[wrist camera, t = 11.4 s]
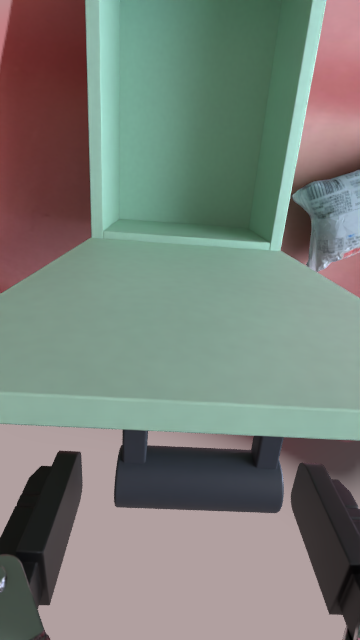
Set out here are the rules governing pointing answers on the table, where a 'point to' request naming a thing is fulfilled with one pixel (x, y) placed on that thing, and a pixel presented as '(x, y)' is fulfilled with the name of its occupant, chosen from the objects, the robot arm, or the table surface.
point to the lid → (184, 363)
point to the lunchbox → (197, 117)
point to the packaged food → (332, 218)
